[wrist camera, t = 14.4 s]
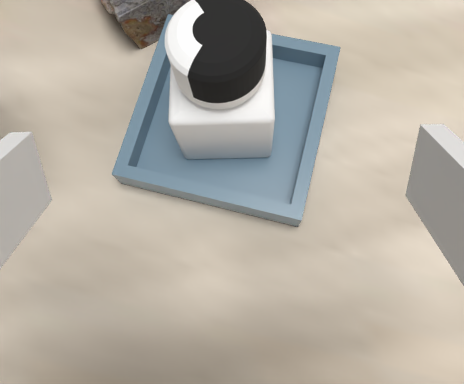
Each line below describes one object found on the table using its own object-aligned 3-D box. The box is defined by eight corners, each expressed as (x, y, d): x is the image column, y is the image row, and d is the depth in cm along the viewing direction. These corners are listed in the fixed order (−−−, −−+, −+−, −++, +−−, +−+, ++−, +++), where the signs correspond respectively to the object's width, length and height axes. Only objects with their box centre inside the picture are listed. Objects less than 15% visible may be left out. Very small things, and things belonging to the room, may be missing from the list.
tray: (121, 183, 35) (111, 174, 33) (173, 32, 39) (168, 14, 36) (298, 226, 33) (301, 220, 31) (335, 64, 37) (340, 47, 35)
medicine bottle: (268, 80, 36) (274, -26, 25) (271, 158, 34) (279, 82, 23) (186, 83, 37) (154, -21, 25) (184, 160, 35) (149, 86, 23)
